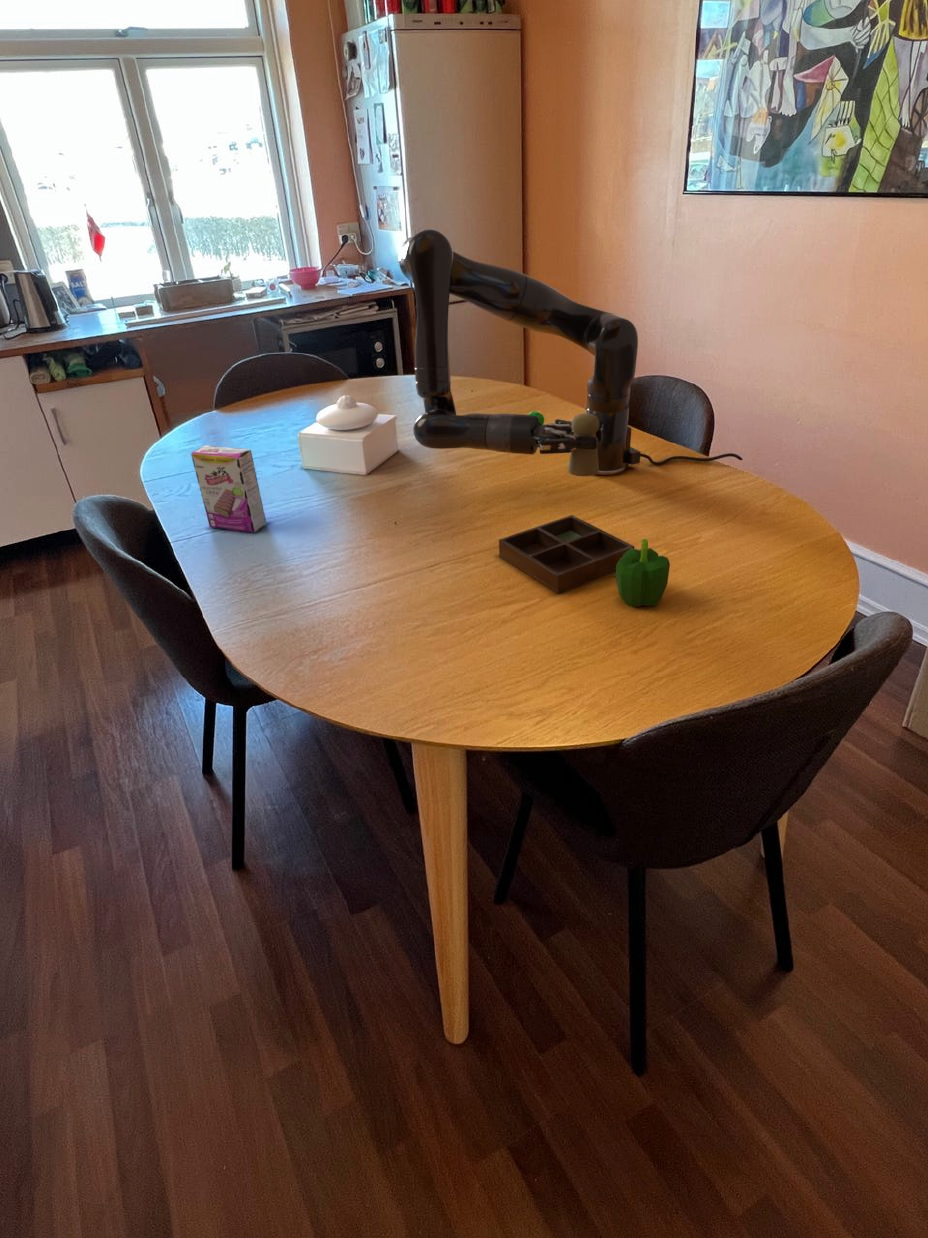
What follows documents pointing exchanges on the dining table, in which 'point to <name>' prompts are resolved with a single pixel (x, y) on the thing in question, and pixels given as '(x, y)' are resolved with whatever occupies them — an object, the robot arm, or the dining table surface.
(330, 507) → the dining table surface
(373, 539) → the dining table surface
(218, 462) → the candy bar box
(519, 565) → the compartment tray
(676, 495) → the dining table surface
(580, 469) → the pawn
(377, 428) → the butter dish
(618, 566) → the bell pepper
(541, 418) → the green pom-pom ball
